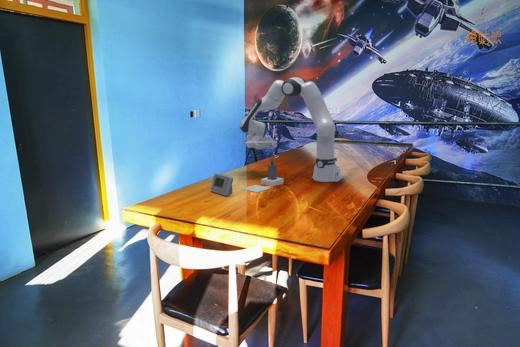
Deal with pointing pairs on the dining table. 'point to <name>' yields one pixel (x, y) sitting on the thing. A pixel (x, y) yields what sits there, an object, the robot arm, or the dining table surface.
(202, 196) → the dining table surface
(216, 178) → the digital clock
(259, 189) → the mat
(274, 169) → the plug
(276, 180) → the socket block
